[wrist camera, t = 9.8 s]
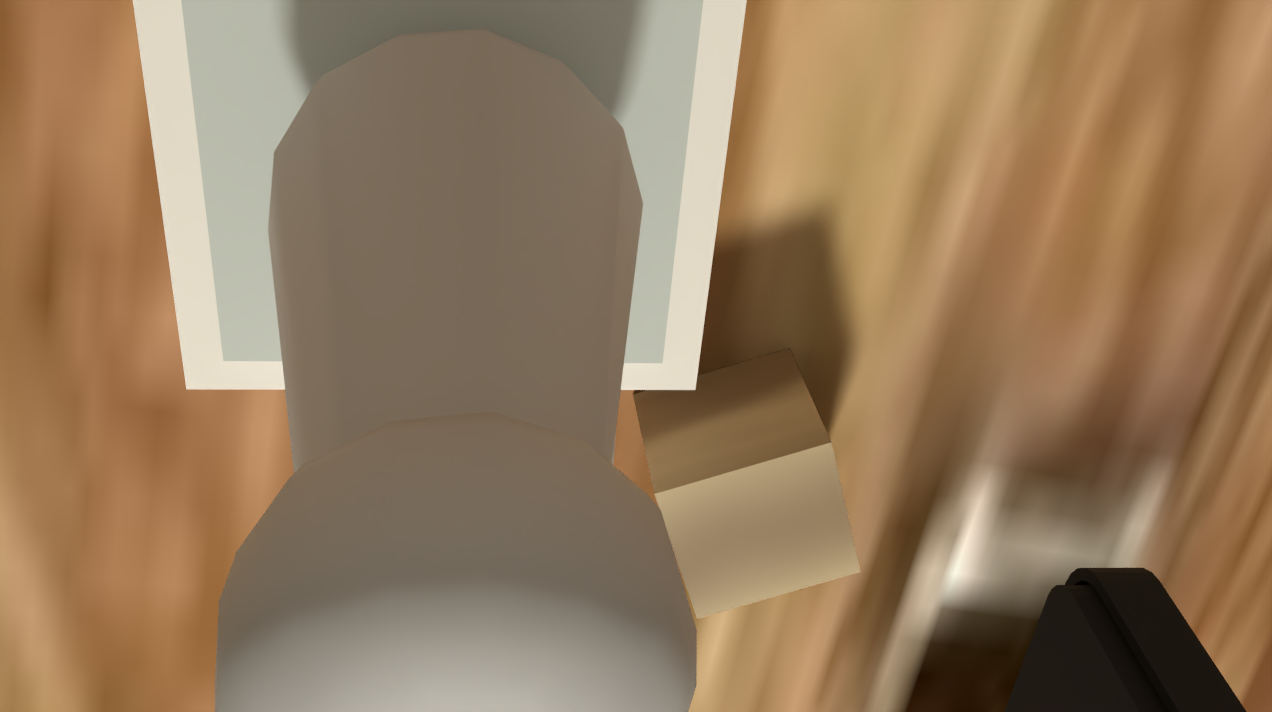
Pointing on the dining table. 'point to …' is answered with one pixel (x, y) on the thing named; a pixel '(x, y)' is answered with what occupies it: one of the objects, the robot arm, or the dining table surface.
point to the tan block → (747, 484)
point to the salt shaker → (454, 405)
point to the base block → (361, 20)
